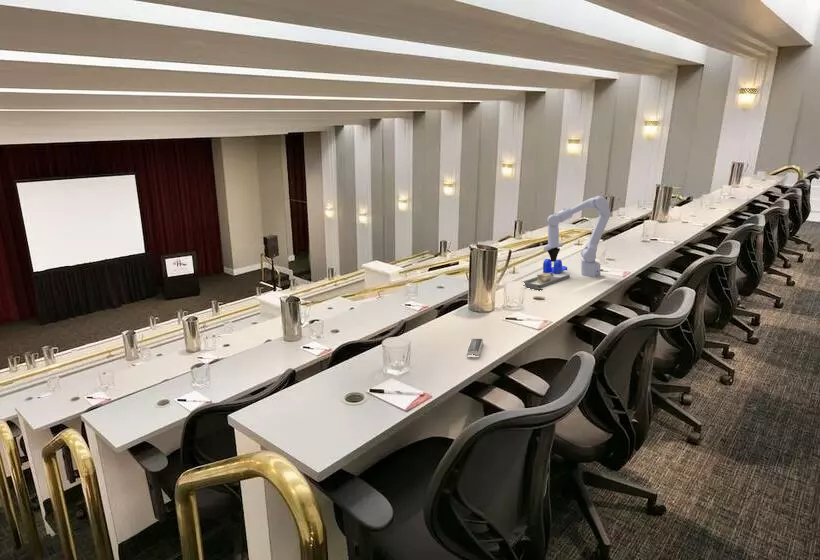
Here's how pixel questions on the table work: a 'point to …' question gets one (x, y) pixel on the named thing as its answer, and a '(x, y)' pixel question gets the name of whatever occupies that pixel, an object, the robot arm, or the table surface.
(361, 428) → the table surface
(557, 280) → the box
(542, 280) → the block
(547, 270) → the bracket
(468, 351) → the multiport hub
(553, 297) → the table surface
